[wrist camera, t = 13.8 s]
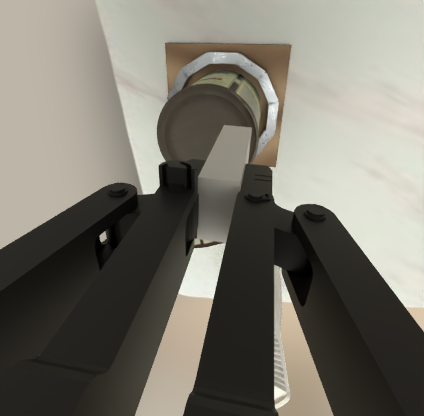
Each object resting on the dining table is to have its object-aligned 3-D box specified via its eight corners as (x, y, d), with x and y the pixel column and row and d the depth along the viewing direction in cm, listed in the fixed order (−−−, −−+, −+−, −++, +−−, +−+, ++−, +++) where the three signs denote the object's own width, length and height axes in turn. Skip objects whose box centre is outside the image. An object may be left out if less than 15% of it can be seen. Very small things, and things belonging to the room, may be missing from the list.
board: (167, 42, 39) (165, 43, 38) (290, 45, 37) (291, 45, 36) (173, 157, 47) (172, 159, 46) (275, 165, 45) (275, 167, 44)
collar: (171, 50, 39) (164, 51, 36) (283, 52, 37) (284, 53, 34) (176, 154, 46) (171, 162, 43) (270, 161, 44) (270, 169, 41)
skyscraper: (233, 229, 53) (202, 390, 29) (280, 225, 51) (288, 395, 27) (240, 265, 56) (218, 433, 33) (284, 263, 54) (294, 441, 31)
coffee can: (213, 156, 45) (192, 201, 33) (175, 95, 41) (136, 120, 30) (275, 123, 41) (277, 159, 29) (239, 51, 37) (224, 60, 25)
